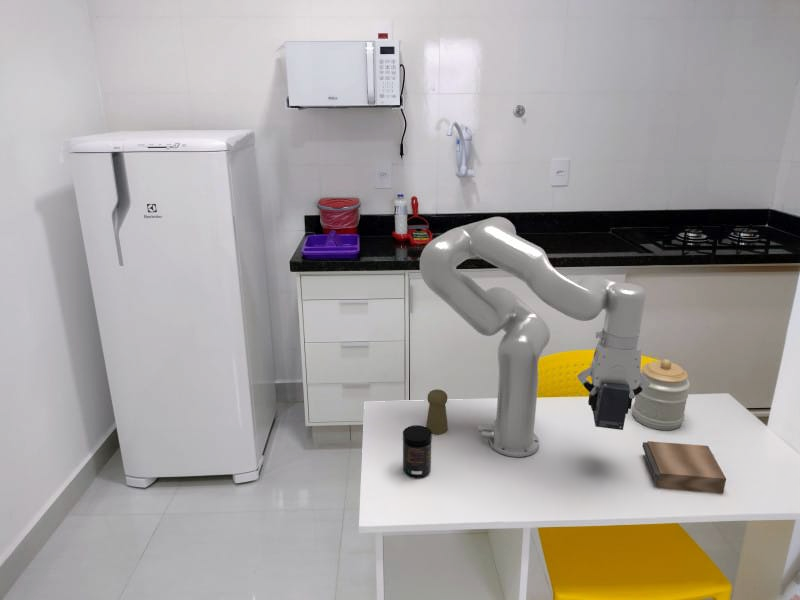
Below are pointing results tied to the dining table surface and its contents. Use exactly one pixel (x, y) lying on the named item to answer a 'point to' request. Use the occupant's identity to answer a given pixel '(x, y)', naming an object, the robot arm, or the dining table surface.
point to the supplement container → (417, 451)
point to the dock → (684, 467)
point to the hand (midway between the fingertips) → (608, 408)
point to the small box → (611, 405)
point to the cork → (437, 412)
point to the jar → (662, 396)
